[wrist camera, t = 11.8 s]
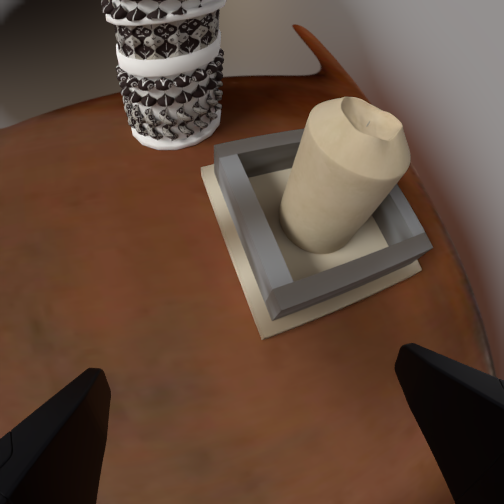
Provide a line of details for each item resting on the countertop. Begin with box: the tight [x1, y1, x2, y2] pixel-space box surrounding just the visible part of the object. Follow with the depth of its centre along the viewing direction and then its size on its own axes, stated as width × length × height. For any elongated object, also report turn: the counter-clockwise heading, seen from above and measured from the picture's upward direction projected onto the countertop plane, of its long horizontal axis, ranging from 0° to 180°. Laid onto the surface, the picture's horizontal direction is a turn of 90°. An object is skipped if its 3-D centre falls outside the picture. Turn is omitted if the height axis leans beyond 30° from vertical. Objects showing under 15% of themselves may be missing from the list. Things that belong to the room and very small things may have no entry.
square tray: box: [201, 129, 433, 340], centre depth 20 cm, size 13×13×4 cm
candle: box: [279, 97, 410, 254], centre depth 16 cm, size 6×6×10 cm
